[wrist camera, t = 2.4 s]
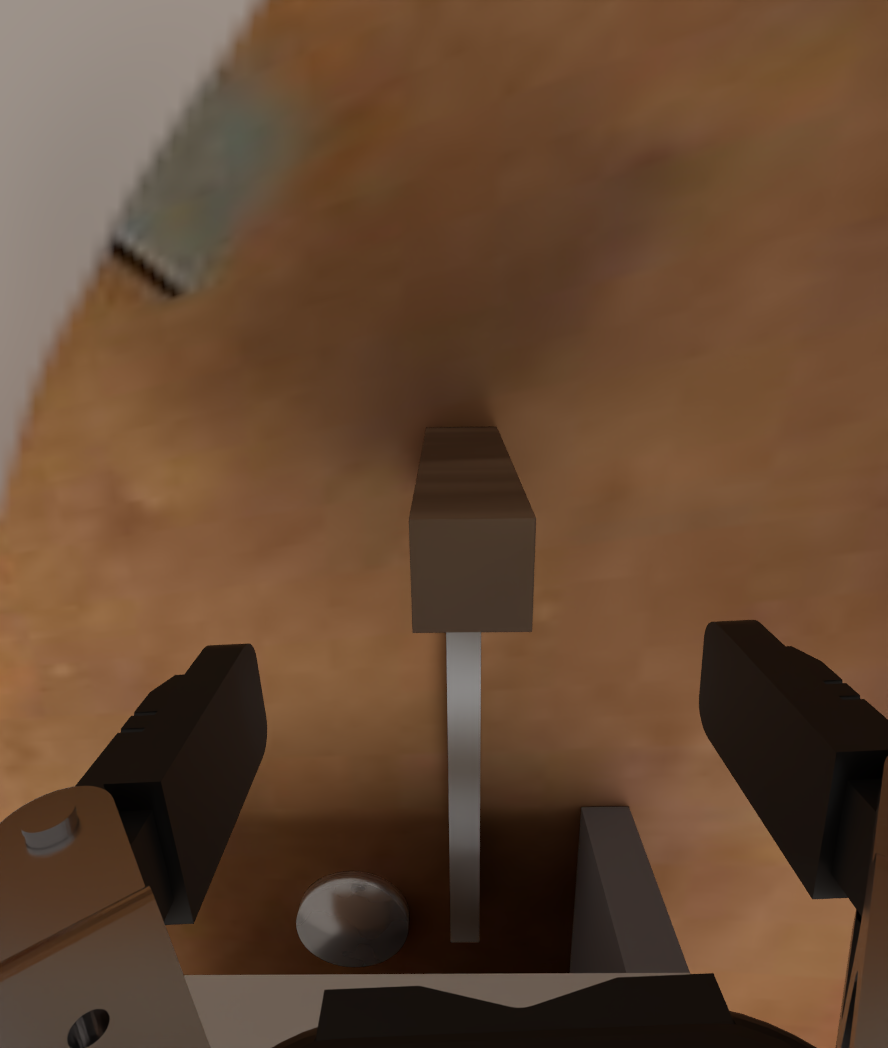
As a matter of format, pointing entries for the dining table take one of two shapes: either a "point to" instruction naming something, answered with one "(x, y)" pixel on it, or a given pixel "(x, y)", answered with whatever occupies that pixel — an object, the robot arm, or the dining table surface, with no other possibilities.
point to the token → (353, 919)
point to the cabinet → (596, 956)
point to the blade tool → (468, 609)
